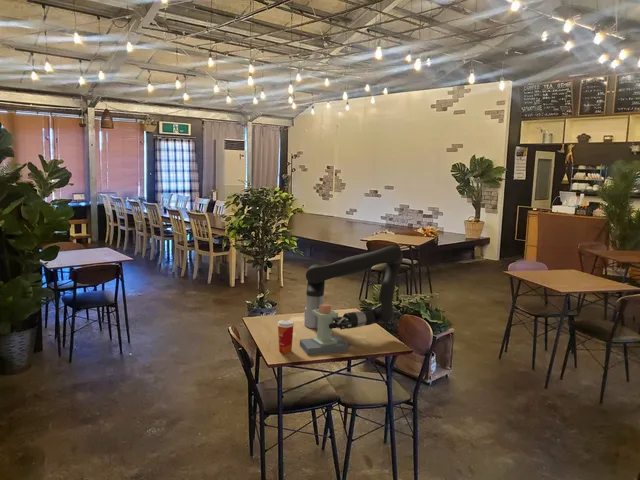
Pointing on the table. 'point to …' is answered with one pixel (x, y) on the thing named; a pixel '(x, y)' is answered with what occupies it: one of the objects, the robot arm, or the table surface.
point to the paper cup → (285, 336)
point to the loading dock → (314, 348)
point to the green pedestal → (324, 328)
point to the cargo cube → (324, 309)
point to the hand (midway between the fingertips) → (325, 323)
